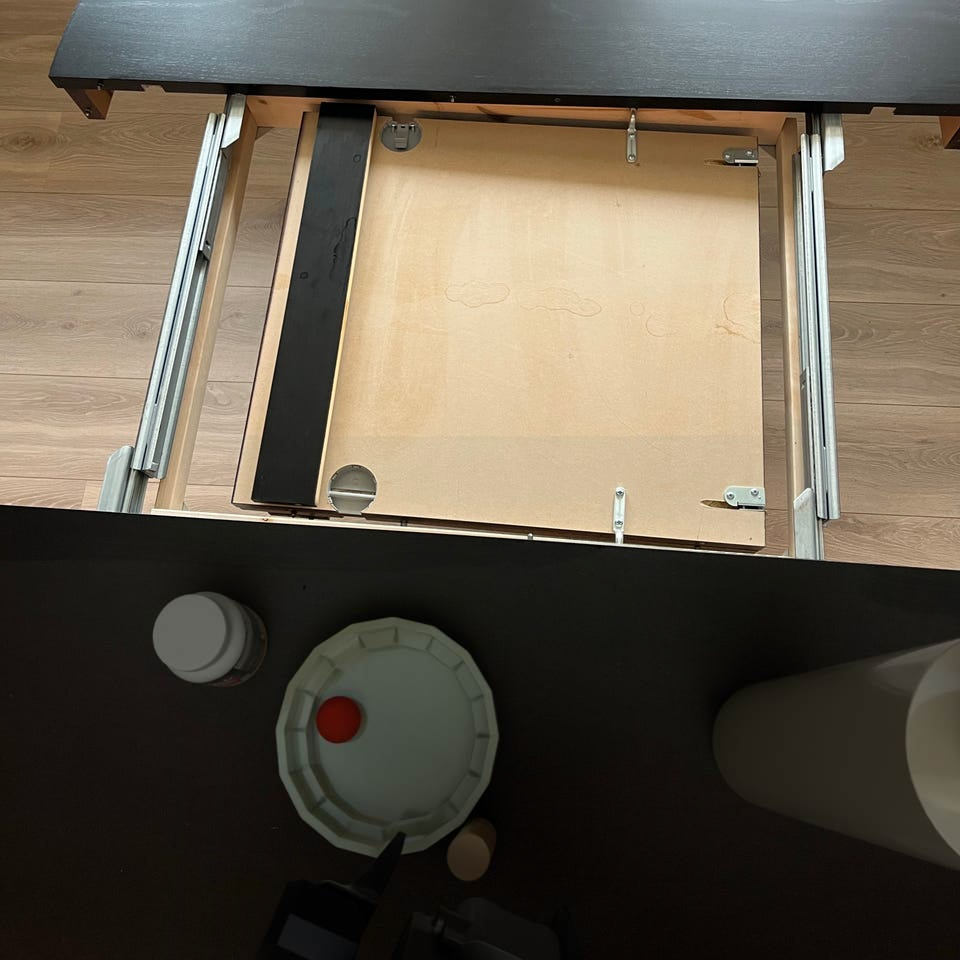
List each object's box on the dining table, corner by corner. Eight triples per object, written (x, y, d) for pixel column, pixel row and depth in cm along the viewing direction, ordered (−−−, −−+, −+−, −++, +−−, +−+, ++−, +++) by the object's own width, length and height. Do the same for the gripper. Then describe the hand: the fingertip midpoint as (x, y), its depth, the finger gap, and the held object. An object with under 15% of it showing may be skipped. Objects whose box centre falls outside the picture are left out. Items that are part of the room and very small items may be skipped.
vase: (825, 823, 69) (1295, 968, 27) (703, 793, 70) (968, 886, 28) (838, 697, 72) (1284, 644, 29) (721, 670, 73) (986, 580, 30)
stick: (492, 861, 70) (484, 886, 58) (456, 852, 70) (442, 875, 59) (500, 822, 70) (494, 839, 59) (465, 813, 71) (452, 828, 60)
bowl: (472, 872, 69) (468, 882, 65) (267, 817, 71) (248, 823, 66) (518, 651, 74) (517, 646, 70) (325, 605, 76) (311, 597, 71)
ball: (357, 748, 72) (350, 748, 69) (315, 737, 72) (306, 737, 69) (369, 702, 73) (362, 701, 70) (327, 691, 73) (319, 690, 70)
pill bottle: (183, 682, 75) (133, 675, 65) (199, 599, 77) (153, 580, 67) (262, 691, 74) (223, 685, 65) (276, 607, 76) (241, 590, 67)
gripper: (736, 1182, 38) (713, 842, 53) (261, 965, 38) (370, 687, 53) (605, 1342, 42) (617, 984, 56) (175, 1145, 42) (299, 839, 57)
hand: (480, 873), depth 55 cm, fingers open, 9 cm apart
